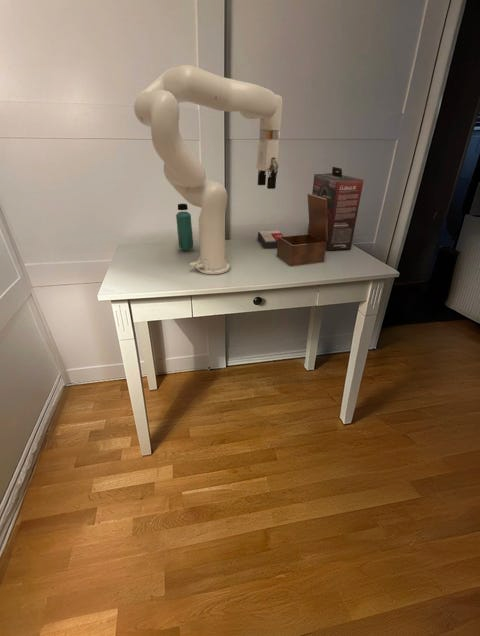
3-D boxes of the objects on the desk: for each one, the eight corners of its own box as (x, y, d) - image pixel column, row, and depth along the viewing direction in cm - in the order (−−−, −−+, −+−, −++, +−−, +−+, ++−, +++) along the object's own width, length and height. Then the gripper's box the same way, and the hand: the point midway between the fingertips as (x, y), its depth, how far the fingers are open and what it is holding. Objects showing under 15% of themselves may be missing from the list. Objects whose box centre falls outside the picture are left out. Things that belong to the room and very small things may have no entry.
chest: (290, 266, 124) (292, 245, 120) (276, 256, 135) (278, 237, 130) (323, 261, 129) (327, 242, 125) (308, 252, 139) (310, 233, 135)
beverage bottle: (195, 252, 138) (192, 204, 128) (180, 253, 136) (176, 206, 126) (191, 247, 143) (188, 201, 133) (177, 249, 141) (173, 203, 131)
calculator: (264, 240, 141) (258, 230, 153) (264, 249, 143) (257, 238, 155) (288, 239, 142) (279, 229, 155) (287, 248, 145) (278, 237, 157)
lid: (325, 199, 115) (338, 195, 116) (307, 193, 125) (319, 190, 127) (326, 241, 125) (338, 237, 126) (309, 232, 135) (321, 229, 136)
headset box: (305, 236, 161) (314, 164, 144) (328, 234, 163) (339, 164, 146) (326, 251, 140) (339, 170, 123) (351, 250, 142) (367, 170, 125)
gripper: (251, 135, 119) (249, 184, 128) (269, 136, 105) (265, 190, 114) (269, 136, 121) (266, 183, 130) (289, 136, 107) (284, 189, 116)
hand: (266, 186), depth 122 cm, fingers open, 9 cm apart
